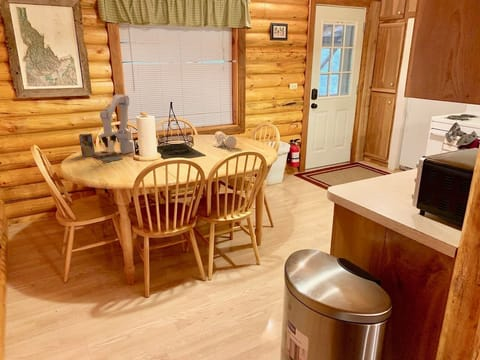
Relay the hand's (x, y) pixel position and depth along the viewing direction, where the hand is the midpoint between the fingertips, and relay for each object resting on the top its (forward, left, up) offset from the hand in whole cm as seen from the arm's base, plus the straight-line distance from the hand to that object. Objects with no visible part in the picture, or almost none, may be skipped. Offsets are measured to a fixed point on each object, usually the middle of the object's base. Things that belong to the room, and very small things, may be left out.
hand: (109, 146), depth 267 cm
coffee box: (+7, -24, -10) cm, 27 cm away
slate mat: (0, 0, -10) cm, 10 cm away
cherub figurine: (-83, +29, -10) cm, 89 cm away
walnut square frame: (-1, -13, -10) cm, 16 cm away
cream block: (0, 0, -4) cm, 4 cm away
